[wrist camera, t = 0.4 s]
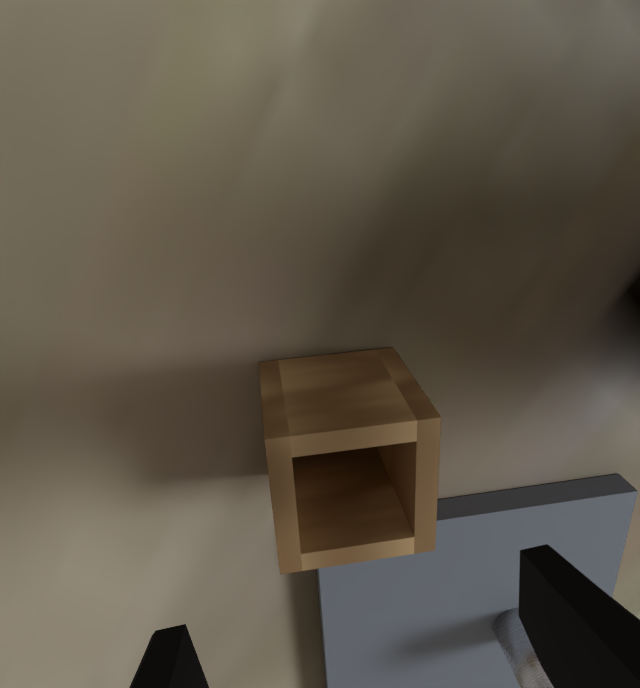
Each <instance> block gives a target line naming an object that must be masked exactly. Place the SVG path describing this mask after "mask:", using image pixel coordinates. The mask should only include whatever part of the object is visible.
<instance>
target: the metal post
mask: <svg viewBox="0 0 640 688" xmlns="http://www.w3.org/2000/svg"><path fill="white" fill-rule="evenodd" d="M518 615H519V608H513V609H509V610H507V611H505V612H503V613H501V614H500V615H499V616H498V617H497V618H496V619H495V620H494V622H493V625H492V630H493V633H494V635H495V637H496V639H497V641H498V643H499V645H500V647H501V649H502V651H503V653H504V655H505V657H506V659H507V661H508V663H509V665H510V667H511V669H512V671H513V673H514V675H515V677H516V679H517V681H518V683H519V685H520V687H521V688H554V687H553V685H552V684H551V682H550V680H549V679H548V677H547V675H546V673H545V671H544V670H543V668H542V666H541V664H540V662H539V660H538V658H537V655H536V653H535V651H534V649H533V647H532V645H531V643H530V640H529V638H528V636H527V634H526V631H525V629H524V627H523V625H522V622H521V620H520V618H519V616H518Z"/></svg>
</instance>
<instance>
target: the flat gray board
mask: <svg viewBox="0 0 640 688" xmlns="http://www.w3.org/2000/svg"><path fill="white" fill-rule="evenodd" d="M637 492H638V491H637V490H636V489H635V488H634V487H633V486H632V485H631V484H629V483H628V482H627V481H626V480H625V479H624V478H623V477H622V476H621V475H620V474H614V475H607V476H600V477H593V478H586V479H579V480H572V481H565V482H558V483H551V484H544V485H538V486H531V487H524V488H517V489H510V490H503V491H496V492H489V493H482V494H475V495H468V496H461V497H454V498H447V499H440V500H437V520H436V541H435V551H429V552H422V553H416V554H409V555H403V556H396V557H390V558H383V559H377V560H370V561H364V562H357V563H351V564H345V565H338V566H332V567H325V568H319V569H317V579H318V592H319V605H320V617H321V630H322V643H323V655H324V668H325V681H326V688H520V685H519V683H518V681H517V679H516V677H515V675H514V673H513V671H512V669H511V667H510V665H509V663H508V661H507V659H506V657H505V655H504V653H503V651H502V649H501V647H500V645H499V643H498V641H497V639H496V637H495V635H494V633H493V630H492V625H493V622H494V620H495V619H496V618H497V617H498V616H499V615H500V614H501V613H503V612H505V611H507V610H509V609H513V608H519V570H520V550H523V549H527V548H532V547H536V546H541V545H545V544H548V545H549V546H550V547H552V548H553V549H554V550H555V551H557V552H558V553H559V554H560V555H561V556H563V557H564V558H565V559H566V560H567V561H568V562H570V563H571V564H572V565H573V566H574V567H575V568H577V569H578V570H579V571H580V572H581V573H583V574H584V575H585V576H586V577H587V578H589V579H590V580H591V581H592V582H593V583H595V584H596V585H597V586H598V587H599V588H601V589H602V590H603V591H604V592H605V593H607V594H608V595H609V596H610V597H612V595H613V591H614V587H615V583H616V579H617V574H618V570H619V566H620V562H621V558H622V554H623V550H624V546H625V541H626V537H627V533H628V529H629V525H630V521H631V517H632V513H633V509H634V504H635V500H636V496H637Z"/></svg>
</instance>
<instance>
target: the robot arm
mask: <svg viewBox="0 0 640 688" xmlns="http://www.w3.org/2000/svg"><path fill="white" fill-rule="evenodd" d="M518 616H519V618H520V620H521V622H522V625H523V627H524V629H525V631H526V634H527V636H528V638H529V640H530V643H531V645H532V647H533V649H534V651H535V653H536V655H537V658H538V660H539V662H540V664H541V666H542V668H543V670H544V671H545V673H546V675H547V677H548V679H549V680H550V682H551V684H552V685H553V687H554V688H640V620H639V619H638V618H637V617H636V616H634V615H633V614H632V613H630V612H629V611H628V610H627V609H625V608H624V607H623V606H622V605H620V604H619V603H618V602H617V601H615V600H614V599H613V598H612V597H610V596H609V595H608V594H607V593H605V592H604V591H603V590H602V589H601V588H599V587H598V586H597V585H596V584H595V583H593V582H592V581H591V580H590V579H589V578H587V577H586V576H585V575H584V574H583V573H581V572H580V571H579V570H578V569H577V568H575V567H574V566H573V565H572V564H571V563H570V562H568V561H567V560H566V559H565V558H564V557H563V556H561V555H560V554H559V553H558V552H557V551H555V550H554V549H553V548H552V547H550V546H549V545H548V544H545V545H541V546H536V547H532V548H527V549H523V550H520V570H519V615H518ZM130 688H209V686H208V684H207V681H206V678H205V675H204V673H203V670H202V667H201V665H200V662H199V659H198V657H197V654H196V651H195V649H194V646H193V643H192V640H191V638H190V635H189V632H188V630H187V627H186V624H184V625H180V626H175V627H171V628H166V629H161V630H157V631H155V633H154V634H153V635H152V637H151V639H150V642H149V644H148V646H147V649H146V651H145V654H144V656H143V658H142V660H141V663H140V665H139V667H138V670H137V672H136V674H135V677H134V679H133V681H132V683H131V685H130Z"/></svg>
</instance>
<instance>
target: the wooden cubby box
mask: <svg viewBox="0 0 640 688" xmlns="http://www.w3.org/2000/svg"><path fill="white" fill-rule="evenodd" d="M259 372H260V386H261V400H262V414H263V429H264V442H265V450H266V458H267V467H268V475H269V484H270V492H271V501H272V509H273V518H274V526H275V535H276V543H277V551H278V560H279V568H280V574H286V573H293V572H299V571H306V570H312V569H319V568H325V567H332V566H338V565H345V564H351V563H357V562H364V561H370V560H377V559H383V558H390V557H396V556H403V555H409V554H416V553H422V552H429V551H435V541H436V520H437V498H438V476H439V455H440V433H441V416H440V415H439V413H438V412H437V410H436V409H435V408H434V406H433V405H432V403H431V402H430V400H429V399H428V397H427V396H426V394H425V393H424V391H423V390H422V389H421V387H420V386H419V384H418V383H417V381H416V380H415V378H414V377H413V375H412V374H411V372H410V371H409V369H408V368H407V367H406V365H405V364H404V362H403V361H402V359H401V358H400V356H399V355H398V353H397V352H396V350H395V349H394V348H393V347H392V348H383V349H374V350H365V351H356V352H347V353H338V354H329V355H320V356H310V357H301V358H292V359H283V360H274V361H265V362H259Z"/></svg>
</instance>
